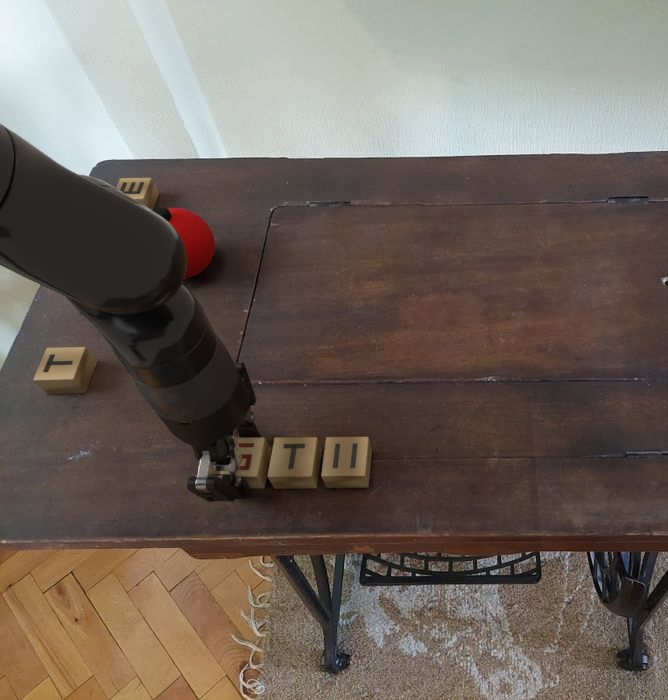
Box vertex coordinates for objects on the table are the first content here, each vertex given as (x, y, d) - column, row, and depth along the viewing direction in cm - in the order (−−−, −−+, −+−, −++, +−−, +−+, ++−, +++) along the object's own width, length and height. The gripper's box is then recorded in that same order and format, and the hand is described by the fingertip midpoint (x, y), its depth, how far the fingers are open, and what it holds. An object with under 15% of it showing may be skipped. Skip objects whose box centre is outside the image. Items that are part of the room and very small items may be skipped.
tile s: (222, 489, 68) (212, 476, 66) (230, 450, 71) (222, 437, 69) (264, 488, 68) (257, 476, 66) (271, 450, 71) (264, 436, 69)
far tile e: (151, 214, 93) (143, 198, 90) (120, 215, 93) (110, 198, 90) (159, 193, 95) (151, 177, 93) (128, 194, 95) (119, 177, 93)
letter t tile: (85, 393, 75) (72, 378, 73) (46, 394, 75) (32, 379, 73) (97, 361, 78) (85, 346, 75) (59, 362, 78) (46, 347, 75)
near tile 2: (274, 488, 68) (267, 476, 66) (281, 450, 71) (274, 437, 69) (317, 488, 68) (311, 476, 66) (322, 449, 71) (317, 436, 69)
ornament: (154, 299, 84) (120, 243, 76) (154, 250, 89) (123, 193, 81) (225, 285, 85) (200, 229, 77) (222, 238, 90) (198, 180, 82)
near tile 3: (326, 488, 68) (320, 475, 66) (330, 449, 71) (325, 436, 69) (368, 487, 68) (365, 475, 66) (372, 449, 71) (368, 435, 69)
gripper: (169, 316, 60) (225, 409, 74) (123, 458, 51) (195, 533, 65) (251, 315, 60) (291, 408, 74) (217, 457, 51) (270, 532, 65)
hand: (246, 466), depth 69 cm, fingers open, 5 cm apart
